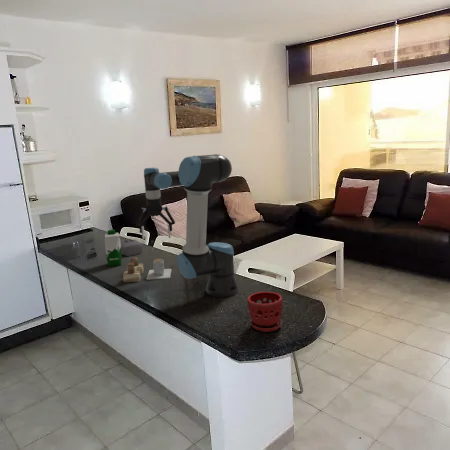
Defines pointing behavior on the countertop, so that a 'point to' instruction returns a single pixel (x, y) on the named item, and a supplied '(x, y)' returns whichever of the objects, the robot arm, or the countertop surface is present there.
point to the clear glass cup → (158, 267)
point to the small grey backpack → (130, 247)
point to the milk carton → (113, 248)
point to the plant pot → (265, 311)
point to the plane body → (133, 271)
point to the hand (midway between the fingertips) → (156, 238)
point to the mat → (165, 276)
